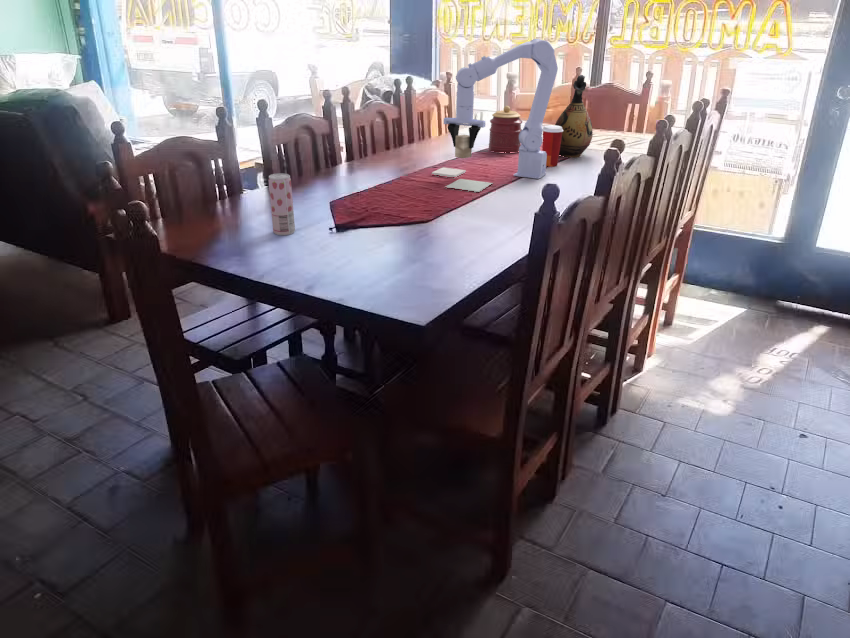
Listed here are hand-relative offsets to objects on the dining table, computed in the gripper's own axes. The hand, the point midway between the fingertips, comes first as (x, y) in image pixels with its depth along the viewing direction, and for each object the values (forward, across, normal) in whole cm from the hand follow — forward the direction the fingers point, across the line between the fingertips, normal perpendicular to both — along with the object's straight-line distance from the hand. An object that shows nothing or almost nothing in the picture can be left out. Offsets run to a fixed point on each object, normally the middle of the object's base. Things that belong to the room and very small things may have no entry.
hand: (463, 147), depth 228 cm
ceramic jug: (+10, -25, -51) cm, 58 cm away
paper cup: (+10, -22, -30) cm, 39 cm away
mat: (+10, -8, +12) cm, 17 cm away
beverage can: (+10, +18, +79) cm, 81 cm away
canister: (+10, +1, -47) cm, 48 cm away
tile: (+10, +1, 0) cm, 10 cm away
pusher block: (+3, 0, 0) cm, 3 cm away
